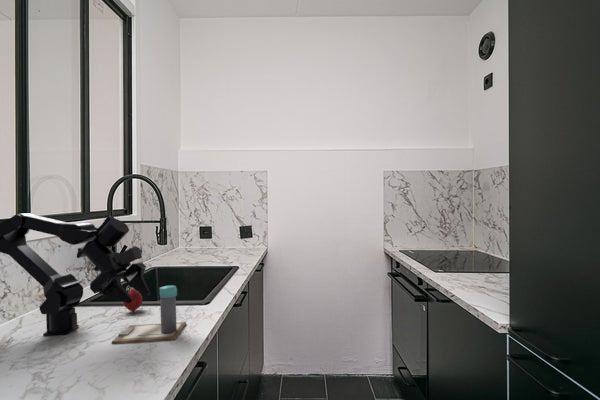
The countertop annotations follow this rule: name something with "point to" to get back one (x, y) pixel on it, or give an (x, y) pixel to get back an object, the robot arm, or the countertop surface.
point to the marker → (168, 309)
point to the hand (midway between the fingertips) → (140, 298)
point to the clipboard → (146, 333)
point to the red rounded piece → (134, 300)
